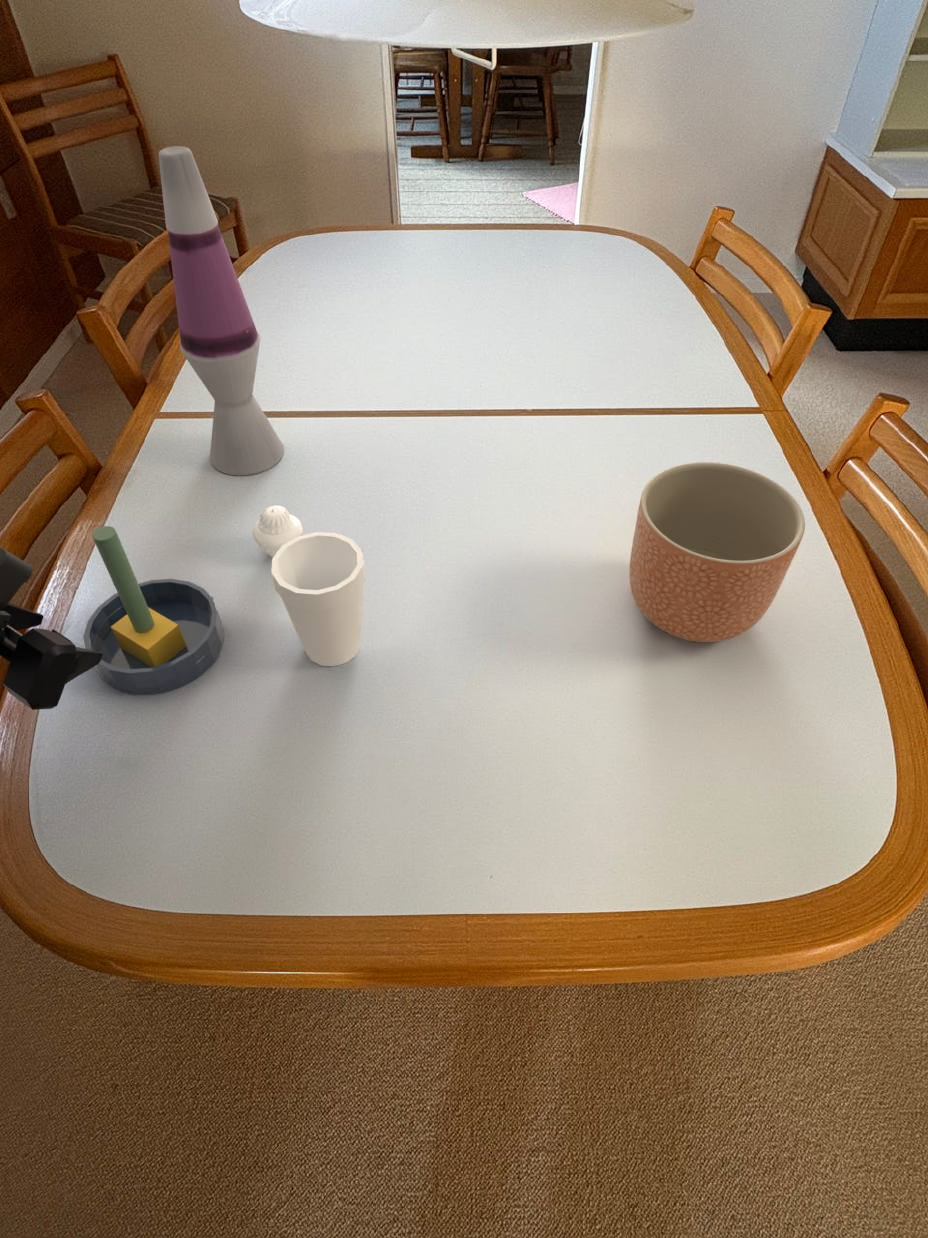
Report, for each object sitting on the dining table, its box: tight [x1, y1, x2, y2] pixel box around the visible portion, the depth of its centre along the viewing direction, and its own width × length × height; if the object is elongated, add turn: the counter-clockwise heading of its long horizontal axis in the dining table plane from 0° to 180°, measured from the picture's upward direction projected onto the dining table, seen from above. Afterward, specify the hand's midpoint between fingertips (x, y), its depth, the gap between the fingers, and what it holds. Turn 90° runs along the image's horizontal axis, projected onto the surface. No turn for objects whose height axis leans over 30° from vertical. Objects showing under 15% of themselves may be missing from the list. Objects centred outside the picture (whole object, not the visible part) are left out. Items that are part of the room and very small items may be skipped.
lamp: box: [158, 145, 285, 477], centre depth 101 cm, size 11×11×40 cm
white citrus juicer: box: [252, 505, 304, 558], centre depth 98 cm, size 6×6×7 cm
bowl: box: [82, 578, 225, 696], centre depth 89 cm, size 14×14×4 cm
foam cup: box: [270, 531, 366, 667], centre depth 85 cm, size 10×9×13 cm
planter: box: [628, 461, 806, 643], centre depth 89 cm, size 17×17×15 cm
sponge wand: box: [92, 525, 186, 668], centre depth 83 cm, size 4×6×17 cm
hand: (70, 638), depth 79 cm, fingers open, 9 cm apart
